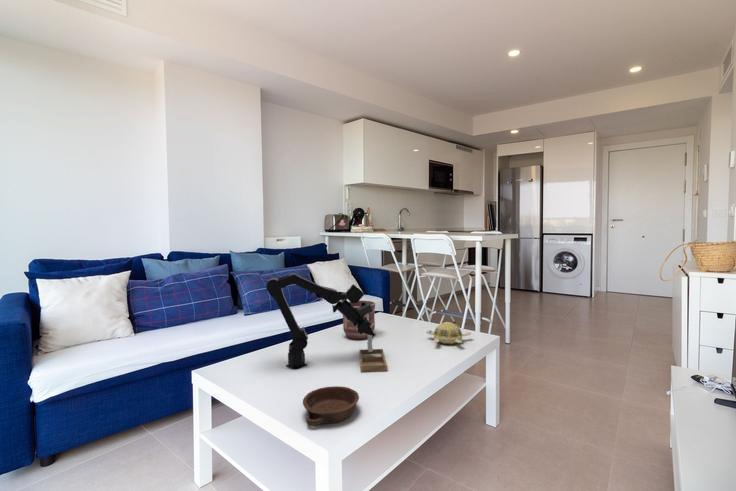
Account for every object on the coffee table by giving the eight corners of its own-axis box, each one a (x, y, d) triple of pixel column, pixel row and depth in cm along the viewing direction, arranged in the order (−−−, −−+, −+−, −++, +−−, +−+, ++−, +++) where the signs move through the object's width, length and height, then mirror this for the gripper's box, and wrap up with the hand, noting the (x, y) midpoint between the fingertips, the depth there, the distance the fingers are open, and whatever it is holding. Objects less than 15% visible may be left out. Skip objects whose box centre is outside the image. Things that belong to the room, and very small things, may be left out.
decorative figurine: (458, 353, 168) (458, 331, 167) (415, 346, 179) (415, 326, 178) (474, 337, 190) (474, 318, 190) (435, 332, 201) (435, 314, 201)
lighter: (368, 352, 166) (366, 334, 169) (371, 351, 166) (370, 333, 169) (369, 350, 159) (367, 332, 162) (373, 350, 159) (371, 331, 162)
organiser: (387, 371, 148) (387, 365, 148) (360, 372, 148) (360, 366, 148) (382, 354, 169) (382, 348, 169) (359, 355, 168) (359, 349, 168)
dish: (286, 422, 111) (285, 406, 111) (330, 393, 130) (329, 379, 130) (333, 438, 102) (332, 420, 102) (373, 404, 121) (372, 389, 121)
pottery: (375, 341, 188) (375, 306, 188) (341, 341, 189) (340, 306, 188) (375, 332, 206) (375, 300, 205) (344, 332, 206) (343, 300, 206)
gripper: (365, 301, 152) (391, 326, 155) (357, 294, 170) (381, 316, 173) (346, 321, 151) (373, 346, 153) (341, 311, 169) (365, 334, 172)
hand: (373, 334), depth 163 cm, fingers closed on lighter, 2 cm apart
